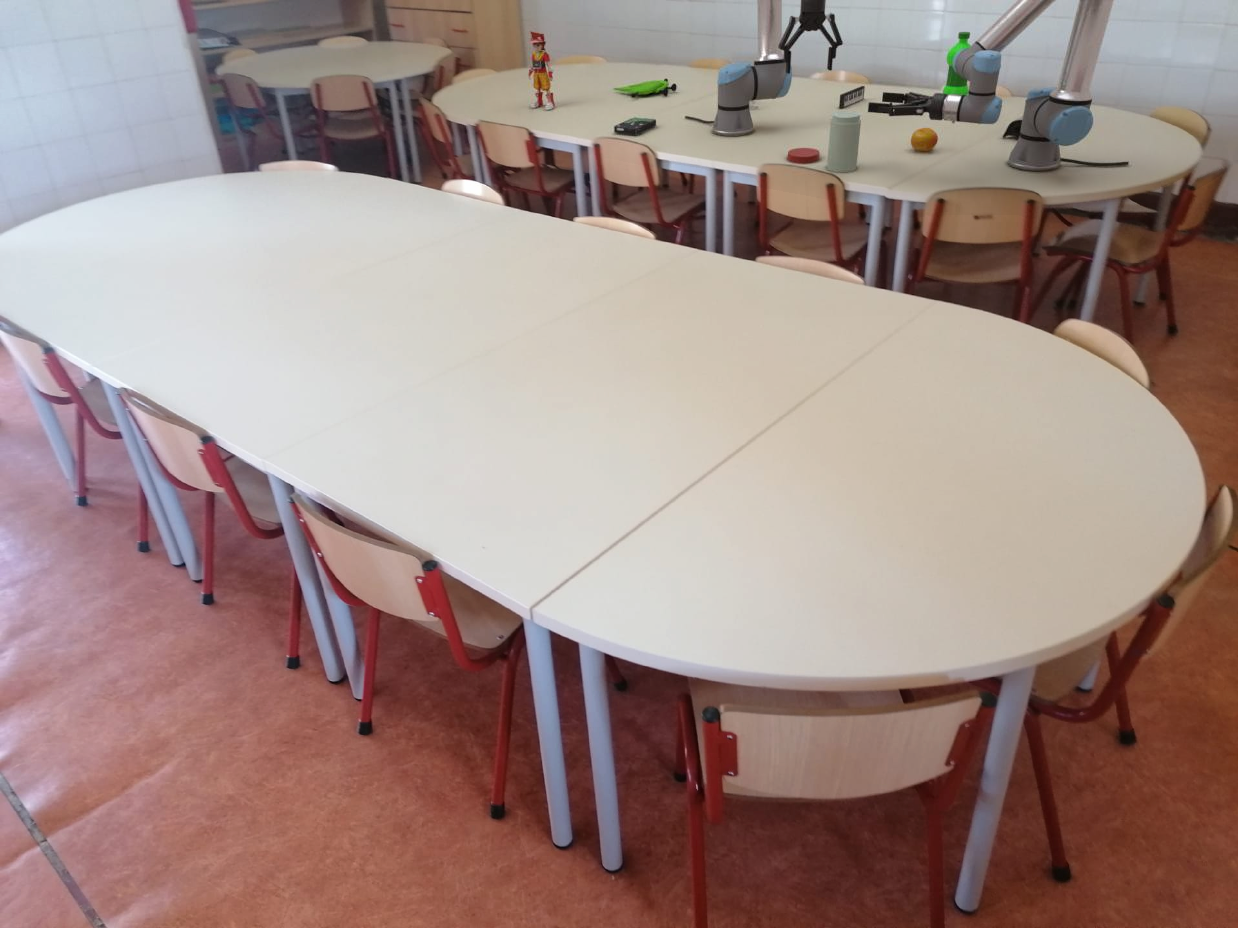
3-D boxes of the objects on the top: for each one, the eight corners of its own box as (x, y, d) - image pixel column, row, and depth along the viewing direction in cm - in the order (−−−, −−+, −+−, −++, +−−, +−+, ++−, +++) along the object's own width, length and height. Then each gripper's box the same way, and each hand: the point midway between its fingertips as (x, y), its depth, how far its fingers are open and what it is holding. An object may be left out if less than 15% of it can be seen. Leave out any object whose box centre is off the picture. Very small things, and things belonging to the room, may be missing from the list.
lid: (818, 163, 299) (818, 157, 298) (786, 163, 301) (786, 156, 300) (819, 154, 307) (820, 148, 306) (788, 154, 309) (788, 147, 308)
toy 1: (525, 109, 381) (517, 32, 364) (534, 104, 388) (527, 28, 371) (550, 110, 377) (543, 32, 360) (559, 105, 384) (553, 28, 367)
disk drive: (637, 136, 338) (656, 126, 348) (636, 129, 336) (656, 118, 346) (613, 134, 342) (633, 123, 352) (613, 126, 341) (633, 116, 351)
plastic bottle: (973, 101, 354) (984, 32, 339) (955, 106, 349) (966, 36, 335) (952, 97, 361) (962, 29, 346) (934, 102, 356) (944, 33, 342)
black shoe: (1032, 109, 328) (1056, 91, 320) (1046, 130, 329) (1070, 113, 320) (998, 131, 311) (1023, 113, 303) (1012, 153, 311) (1038, 136, 303)
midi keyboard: (841, 108, 355) (842, 95, 352) (838, 108, 356) (840, 94, 353) (863, 99, 366) (865, 86, 363) (860, 98, 366) (862, 86, 364)
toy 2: (686, 85, 398) (631, 84, 414) (685, 72, 395) (629, 72, 411) (651, 104, 381) (596, 103, 397) (650, 92, 378) (594, 91, 394)
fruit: (905, 142, 301) (920, 120, 298) (906, 145, 309) (921, 124, 306) (926, 156, 300) (941, 134, 296) (927, 158, 307) (942, 137, 304)
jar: (825, 164, 298) (829, 111, 288) (853, 163, 297) (858, 109, 287) (829, 173, 290) (833, 118, 280) (858, 172, 289) (864, 117, 280)
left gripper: (776, 2, 273) (773, 76, 285) (856, -4, 274) (850, 70, 286) (770, -1, 279) (767, 72, 291) (849, -7, 280) (843, 66, 292)
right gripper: (932, 131, 261) (861, 124, 271) (954, 110, 278) (887, 105, 288) (935, 104, 257) (863, 98, 267) (958, 85, 274) (889, 80, 284)
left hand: (808, 71), depth 288 cm, fingers open, 13 cm apart
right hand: (875, 102), depth 277 cm, fingers open, 13 cm apart
